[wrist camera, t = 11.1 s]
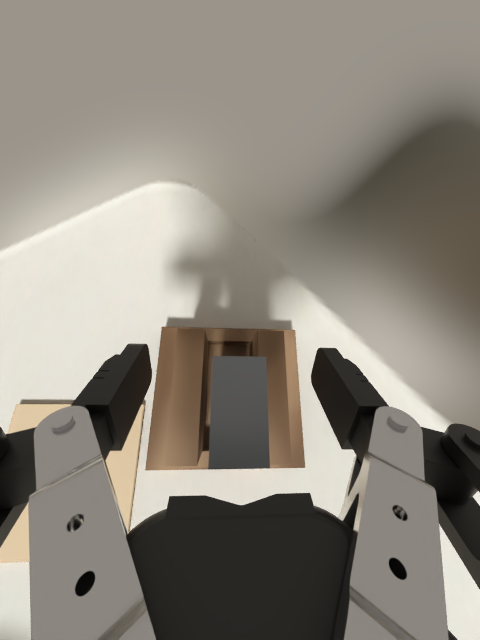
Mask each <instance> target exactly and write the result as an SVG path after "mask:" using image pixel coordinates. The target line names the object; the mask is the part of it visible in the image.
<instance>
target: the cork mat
mask: <svg viewBox="0 0 480 640" xmlns="http://www.w3.org/2000/svg"><path fill="white" fill-rule="evenodd" d="M71 405H72V404H16V406H15V410H14V413H13V417H12V420H11V424H10V427H9V430H8V434H10V433H14V432H18V431H22V430H26V429H31V428H35V427H37V426H38V424H39V423H40V422H41V421H42V420H43V419H44V418H46V417H47V416H48V415H50V414H51V413H53V412H55V411H57V410H59V409H62V408H65V407H69V406H71ZM144 408H145V404H141V407H140V409H139V411H138V414H137V416H136V418H135V421H134V423H133V425H132V428H131V430H130V432H129V434H128V437H127V439H126V441H125V444H124V446H123V448H122V451H110V452H109V454H108V457H107V459H106V464H107V467H108V470H109V474H110V477H111V480H112V483H113V486H114V490H115V493H116V496H117V499H118V502H119V506H120V509H121V512H122V515H123V518H124V521H125V524H126V527H127V530H128V533H129V527H130V519H131V511H132V503H133V495H134V487H135V479H136V472H137V464H138V456H139V448H140V440H141V432H142V424H143V416H144ZM9 562H30V560H29V515H28V504H27V505H26V507H25V508H24V510H23V512H22V513H21V515H20V517H19V518H18V520H17V521H16V523H15V525H14V526H13V528H12V530H11V531H10V533H9V535H8V536H7V538H6V539H5V541H4V543H3V544H2V546H1V548H0V563H9Z"/></svg>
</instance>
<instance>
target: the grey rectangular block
mask: <svg viewBox="0 0 480 640" xmlns="http://www.w3.org/2000/svg"><path fill="white" fill-rule="evenodd" d="M254 468H270V454H269V424H268V394H267V364H266V357H249V356H213V363H212V388H211V413H210V439H209V464H208V469H254Z"/></svg>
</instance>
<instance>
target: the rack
mask: <svg viewBox="0 0 480 640" xmlns="http://www.w3.org/2000/svg"><path fill="white" fill-rule="evenodd" d="M213 356H249V357H266V364H267V394H268V424H269V454H270V468H305V461H304V447H303V434H302V420H301V406H300V392H299V378H298V365H297V351H296V337H295V330H272V329H231V328H190V327H162V331H161V340H160V349H159V357H158V366H157V374H156V383H155V392H154V400H153V409H152V418H151V426H150V435H149V443H148V452H147V461H146V469H145V470H192V469H208V464H209V439H210V413H211V388H212V363H213Z"/></svg>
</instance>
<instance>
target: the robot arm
mask: <svg viewBox="0 0 480 640" xmlns="http://www.w3.org/2000/svg"><path fill="white" fill-rule="evenodd" d="M151 379H152V369H151V362H150V356H149V349H148V346H147V344H128V345H127V346H126V348H125V349H124V350H123V352H122V353H121V355H114V356H113V357H111V358H110V359H108V360H107V361H105V362H104V364H103V365H102V366H101V367H100V369H99V370H98V372H97V373H96V374H95V375H94V376H93V379H91V380H90V382H89V383H88V384H87V385H86V387H85V388H84V389H83V391H82V392H81V393H80V394H79V396H78V397H77V398H76V400H75V401H74V402H73V403H72V405H71V406H69V407H65V408H62V409H59V410H57V411H55V412H53V413H51V414H50V415H48V416H47V417H46V418H44V419H43V420H42V421H41V422H40V423H39V424H38V426H37V427H35V428H31V429H26V430H22V431H18V432H14V433H10V434H6V435H5V433H4V432H3V430H2V428H1V427H0V548H1V546H2V544H3V543H4V541H5V539H6V538H7V536H8V535H9V533H10V531H11V530H12V528H13V526H14V525H15V523H16V521H17V520H18V518H19V517H20V515H21V513H22V512H23V510H24V508H25V507H26V505H27V504H28V515H29V560H30V606H31V640H457V638H456V637H455V636H454V635H453V634H452V633H451V632H450V631H449V630H448V626H447V615H446V603H445V591H444V579H443V567H442V556H441V544H440V532H439V524H440V526H441V527H442V529H443V530H444V532H445V534H446V535H447V537H448V539H449V540H450V542H451V543H452V545H453V547H454V548H455V550H456V552H457V553H458V555H459V556H460V558H461V560H462V561H463V563H464V565H465V566H466V568H467V570H468V571H469V573H470V574H471V576H472V578H473V579H474V581H475V583H476V584H477V586H478V587H479V589H480V506H479V504H478V503H477V502H476V501H475V499H474V498H473V495H474V494H475V493H476V492H477V491H479V492H480V431H478V430H476V429H474V428H472V427H469V426H466V425H463V424H451V425H449V427H448V428H447V430H446V431H445V433H443V432H439V431H435V430H431V429H427V428H423V427H420V426H419V424H418V423H417V422H416V421H415V420H414V419H413V418H412V417H411V416H410V415H408V414H407V413H405V412H403V411H401V410H399V409H396V408H393V407H389V406H388V405H387V403H386V402H385V401H384V399H383V398H382V397H381V396H380V394H379V393H378V392H377V391H376V389H375V388H374V387H373V386H372V384H371V383H370V382H368V379H367V378H366V377H365V376H364V375H363V373H362V372H361V371H360V369H359V368H358V367H357V366H356V365H355V364H354V363H352V362H351V361H349V360H348V359H344V358H343V357H342V355H341V354H340V353H339V351H338V350H337V349H336V348H319V349H318V350H317V353H316V357H315V361H314V365H313V369H312V373H311V381H312V386H313V388H314V390H315V392H316V394H317V397H318V399H319V401H320V403H321V405H322V407H323V409H324V412H325V414H326V416H327V418H328V420H329V422H330V425H331V427H332V429H333V431H334V433H335V435H336V437H337V440H338V442H339V444H340V446H341V448H342V449H353V450H354V452H355V454H356V456H355V458H354V461H353V465H352V470H351V474H350V478H349V482H348V486H347V490H346V495H345V499H344V503H343V506H342V509H341V512H340V514H339V517H336V516H335V515H333V514H331V513H330V512H328V511H326V510H324V509H321V508H319V507H317V506H313V502H312V499H311V495H310V493H292V494H275V495H272V496H269V497H266V498H263V499H260V500H258V501H255V502H252V503H249V504H246V505H236V504H233V503H229V502H226V501H222V500H219V499H215V498H212V497H208V496H169V501H168V506H167V509H165V510H162V511H160V512H158V513H156V514H154V515H152V516H150V517H149V518H147V519H145V520H144V521H142V522H141V523H140V524H138V525H137V526H136V527H135V528H133V529H132V530H131V531H130V532H129V533H128V530H127V527H126V524H125V521H124V518H123V515H122V512H121V509H120V506H119V502H118V499H117V496H116V493H115V490H114V486H113V483H112V480H111V477H110V474H109V470H108V467H107V464H106V459H107V457H108V454H109V452H110V451H122V448H123V446H124V444H125V441H126V439H127V437H128V434H129V432H130V430H131V428H132V425H133V423H134V421H135V418H136V416H137V414H138V411H139V409H140V407H141V404H142V402H143V400H144V397H145V395H146V393H147V390H148V388H149V386H150V383H151Z"/></svg>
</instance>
